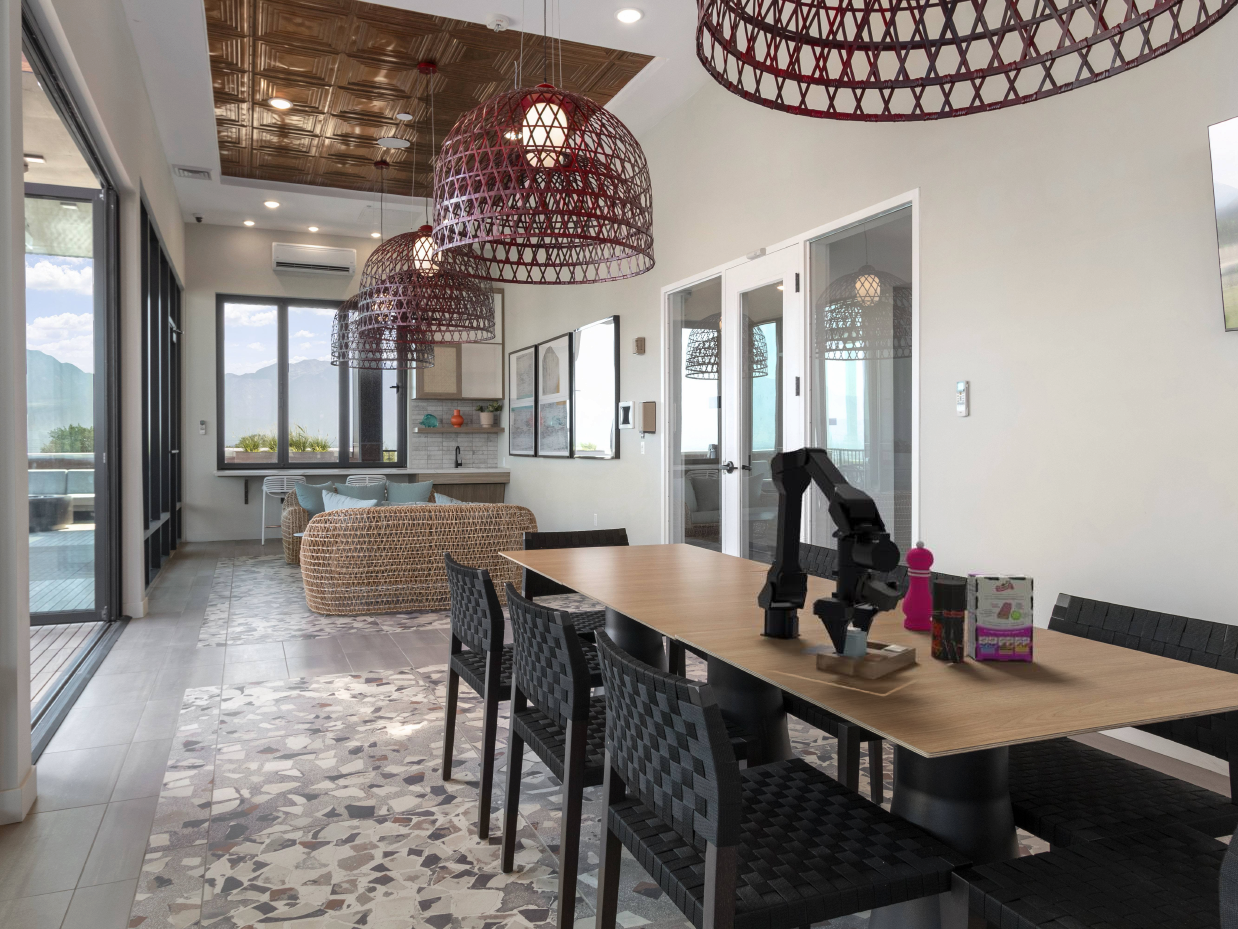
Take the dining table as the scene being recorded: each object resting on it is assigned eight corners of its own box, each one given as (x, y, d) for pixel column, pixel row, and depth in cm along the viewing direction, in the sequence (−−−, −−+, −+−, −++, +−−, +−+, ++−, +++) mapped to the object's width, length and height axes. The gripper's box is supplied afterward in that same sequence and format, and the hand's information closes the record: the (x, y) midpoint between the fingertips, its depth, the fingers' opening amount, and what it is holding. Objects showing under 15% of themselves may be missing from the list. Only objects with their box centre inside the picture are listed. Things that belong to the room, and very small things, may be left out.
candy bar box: (1021, 656, 165) (1023, 573, 165) (1033, 662, 160) (1035, 577, 160) (964, 654, 165) (966, 572, 165) (974, 661, 160) (976, 576, 160)
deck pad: (798, 653, 164) (798, 651, 163) (821, 646, 170) (821, 644, 170) (840, 662, 157) (840, 659, 157) (862, 654, 164) (862, 652, 164)
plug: (835, 669, 152) (836, 628, 152) (845, 666, 155) (846, 625, 155) (855, 674, 149) (856, 631, 149) (866, 670, 152) (866, 628, 152)
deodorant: (966, 663, 158) (968, 585, 158) (933, 661, 159) (935, 583, 159) (960, 656, 164) (962, 580, 163) (928, 654, 165) (930, 579, 165)
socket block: (816, 669, 151) (816, 651, 151) (861, 653, 165) (861, 636, 165) (873, 681, 144) (873, 662, 144) (915, 663, 157) (915, 646, 157)
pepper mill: (939, 631, 187) (941, 542, 187) (907, 630, 187) (909, 542, 187) (928, 624, 194) (930, 539, 194) (897, 624, 194) (899, 538, 194)
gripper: (871, 574, 139) (869, 667, 139) (916, 565, 153) (914, 649, 153) (812, 567, 147) (810, 655, 147) (860, 559, 161) (858, 639, 161)
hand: (850, 650), depth 152 cm, fingers open, 8 cm apart
